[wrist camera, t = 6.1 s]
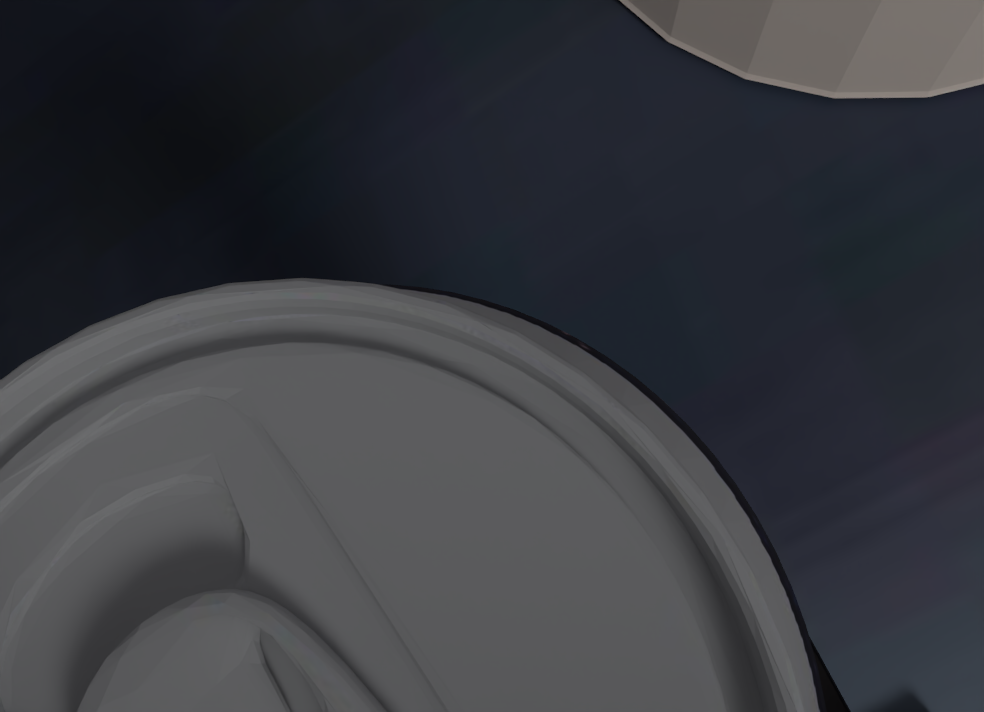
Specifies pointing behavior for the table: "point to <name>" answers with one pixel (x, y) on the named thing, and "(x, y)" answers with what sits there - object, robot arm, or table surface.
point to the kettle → (832, 42)
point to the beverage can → (372, 520)
